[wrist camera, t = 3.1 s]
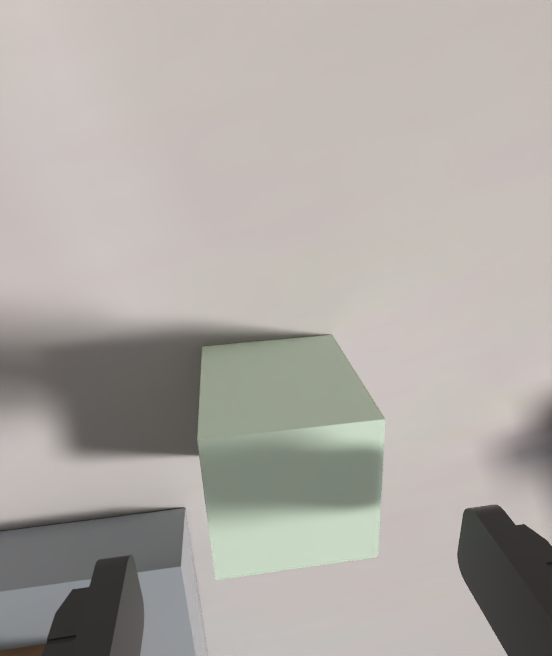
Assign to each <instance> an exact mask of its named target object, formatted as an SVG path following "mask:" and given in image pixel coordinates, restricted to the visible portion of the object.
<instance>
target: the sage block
mask: <svg viewBox="0 0 552 656" xmlns="http://www.w3.org/2000/svg"><path fill="white" fill-rule="evenodd" d="M384 435H385V418H384V416H383V415H382V413H381V411H380V410H379V408H378V407H377V405H376V404H375V402H374V400H373V399H372V397H371V396H370V394H369V392H368V391H367V389H366V388H365V386H364V385H363V383H362V381H361V380H360V378H359V377H358V375H357V373H356V372H355V370H354V369H353V367H352V365H351V364H350V362H349V361H348V359H347V358H346V356H345V354H344V353H343V351H342V350H341V348H340V346H339V345H338V343H337V342H336V340H335V339H334V337H333V335H322V336H311V337H300V338H289V339H278V340H267V341H256V342H245V343H234V344H223V345H212V346H202V358H201V378H200V397H199V416H198V435H197V442H198V450H199V458H200V465H201V473H202V481H203V489H204V496H205V504H206V512H207V520H208V527H209V535H210V543H211V551H212V558H213V566H214V574H215V580H220V579H227V578H234V577H241V576H248V575H255V574H262V573H269V572H276V571H283V570H290V569H297V568H304V567H311V566H318V565H325V564H332V563H339V562H346V561H353V560H360V559H367V558H374V557H378V545H379V527H380V509H381V490H382V472H383V453H384Z"/></svg>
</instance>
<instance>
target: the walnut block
mask: <svg viewBox="0 0 552 656" xmlns="http://www.w3.org/2000/svg"><path fill="white" fill-rule="evenodd" d="M45 645H46V644H41V645H34V646H28V647H21V648H15V649H8V650H1V651H0V656H42V653H43V649H44V646H45Z"/></svg>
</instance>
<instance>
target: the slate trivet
mask: <svg viewBox="0 0 552 656" xmlns="http://www.w3.org/2000/svg"><path fill="white" fill-rule="evenodd" d="M125 555H133V557H134V560H135V565H136V569H137V574H138V578H139V583H140V587H141V592H142V596H143V602H144V630H143V638H142V646H141V653H140V656H208V654H207V647H206V641H205V634H204V627H203V621H202V614H201V608H200V601H199V595H198V588H197V581H196V575H195V568H194V562H193V555H192V549H191V542H190V535H189V529H188V522H187V516H186V509H185V508H181V509H174V510H166V511H158V512H150V513H142V514H134V515H126V516H119V517H111V518H103V519H95V520H87V521H79V522H71V523H63V524H56V525H48V526H40V527H32V528H24V529H16V530H8V531H1V532H0V651H1V650H8V649H15V648H21V647H28V646H34V645H41V644H47V637H48V634H49V631H50V628H51V625H52V622H53V619H54V616H55V613H56V611H57V610H58V609H59V607H60V606H61V605H62V603H63V602H64V600H65V599H66V598H67V596H68V595H69V593H70V592H71V591H72V589H78V588H85V587H89V586H90V582H91V579H92V575H93V571H94V567H95V564H96V562H97V560H99V559H104V558H111V557H118V556H125Z"/></svg>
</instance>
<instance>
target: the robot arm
mask: <svg viewBox="0 0 552 656" xmlns="http://www.w3.org/2000/svg"><path fill="white" fill-rule="evenodd" d="M457 556H458V564H459V568H460V571H461V574H462V577H463V579H464V581H465V583H466V584H467V586H468V588H469V590H470V591H471V593H472V595H473V596H474V598H475V600H476V602H477V603H478V605H479V607H480V608H481V610H482V612H483V614H484V615H485V617H486V619H487V620H488V622H489V624H490V626H491V627H492V629H493V631H494V632H495V634H496V636H497V638H498V639H499V641H500V643H501V645H502V646H503V648H504V650H505V651H506V653H507V655H508V656H552V546H551V545H550V544H549V542H548V541H547V540H546V539H544V538H543V537H541V536H540V535H539V534H537V533H536V532H534V531H533V530H532V529H530V528H529V527H527V526H526V525H524V524H523V525H515V524H514V522H513V521H512V520H511V519H510V517H509V516H508V515H507V514H506V512H505V511H504V510H503V509H502V508H501V507H500V506H498V505H488V506H481V507H474V508H467V509H465V511H464V513H463V519H462V526H461V532H460V539H459V546H458V554H457ZM143 630H144V602H143V596H142V592H141V587H140V583H139V578H138V574H137V569H136V565H135V560H134V557H133V555H125V556H118V557H111V558H104V559H99V560H97V562H96V564H95V567H94V571H93V575H92V579H91V582H90V586H89V587H85V588H78V589H72V591H71V592H70V593H69V595H68V596H67V598H66V599H65V600H64V602H63V603H62V605H61V606H60V607H59V609H58V610H57V611H56V613H55V616H54V619H53V622H52V625H51V628H50V631H49V634H48V637H47V644H46V645H45V646H44V649H43V653H42V656H140V653H141V646H142V638H143Z"/></svg>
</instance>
